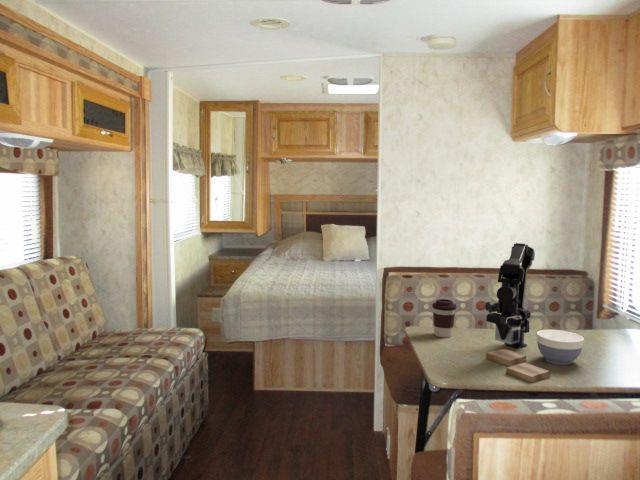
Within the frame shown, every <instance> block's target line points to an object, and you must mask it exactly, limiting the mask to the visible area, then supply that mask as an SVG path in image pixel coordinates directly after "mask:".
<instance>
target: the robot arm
mask: <svg viewBox="0 0 640 480" xmlns="http://www.w3.org/2000/svg"><path fill="white" fill-rule="evenodd" d="M535 254H536V253H535V249H534V248H533V247H531V246H529V245H528V244H527V243H521V242H519V243H518V242H515V243H513V246H511V251H510V256H509V258H508V259H507V260H504V261H503V262H502V265H500V267H499V271H498V272H499V273H498V277H497V283H501V286H500V287H499V288H498V289H497V290H496V298H497V299H498V301H497V302H496V303H495V302H493V300H492V301H491V300H490V301H487V302H485V305H484V309H485V310H486V311H488V314H486V316H485V321H486V322H488V323H492V324H495V326H496V325H497V328H498V330H499V334H500V337H501V340H504V339H505V337H506V334H507V331H508V328H509V324H514V325H517V326H521V327H520V342H519V343H515V344H508V343H504V342H503V343H504V345H506V346H510V347H512V348H514V349H520V348H523V347H527V346H528V344H526V343H525V334H527V333H530V326H531V325H530V321H529V319H531V311H530V310H529V309H526V308H525V307H524V305H525V296H526V295H525V294H526V284H527V276H528V271H529V269H530V268H531V267H532V265H533V261H535V256H536V255H535Z"/></svg>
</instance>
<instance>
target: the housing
mask: <svg viewBox="0 0 640 480" xmlns="http://www.w3.org/2000/svg"><path fill="white" fill-rule="evenodd" d="M520 327H521V326H517V325H514V324H509V328H508V331H507V334H506V337H505V339H504V340H501V337H500V334H499V330H498V328H497V325H496V324H495V332H494V333H495V334H494V335H495V336H494V340H495V341H498V342H502V343H508V344H515V343H519V342H520Z"/></svg>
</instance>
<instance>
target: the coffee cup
mask: <svg viewBox="0 0 640 480" xmlns="http://www.w3.org/2000/svg"><path fill="white" fill-rule="evenodd" d="M431 305H432V308H433V312H432V313H433V314H432V315H433V316H432V317H433V319H432V320H433V335H435V336H436V337H438V338H450V337H452V336H453V327H454V324H455V316H456V312H455V311H456V310H457V307H458V306H457V304H455V303H454V301H453V300H451V299H446V298H439V299H436V300H435V302H433V303H432V304H431Z"/></svg>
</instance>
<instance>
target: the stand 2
mask: <svg viewBox="0 0 640 480" xmlns="http://www.w3.org/2000/svg"><path fill="white" fill-rule="evenodd" d="M505 373H506V374H507V375H510V376H512V377H515V378H517V379H520V380H524V381H526V382H529V383H531V384H532V383H534V382H537V381H538V382H539V381H540V380H541V381H542V380H543V379H546V378H549V377H550V370H547V369H545V368H542V367H539V366H535V365H533V364H530V363H527V362H521V363H518V364H515V365H511V366H506V369H505Z"/></svg>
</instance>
